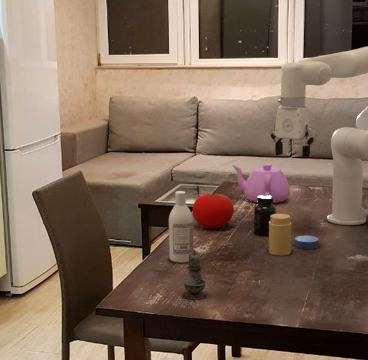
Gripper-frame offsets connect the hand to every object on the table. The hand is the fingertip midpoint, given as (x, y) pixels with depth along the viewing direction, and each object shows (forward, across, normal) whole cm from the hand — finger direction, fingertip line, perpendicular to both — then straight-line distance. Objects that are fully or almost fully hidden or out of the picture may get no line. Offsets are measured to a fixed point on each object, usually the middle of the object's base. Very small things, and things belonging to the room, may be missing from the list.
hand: (292, 156), depth 237 cm
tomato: (+24, -22, -12) cm, 35 cm away
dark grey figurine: (+24, +13, -66) cm, 72 cm away
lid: (+22, +13, -13) cm, 29 cm away
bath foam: (+24, -8, -46) cm, 53 cm away
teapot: (+24, -31, +29) cm, 49 cm away
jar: (+24, +10, -23) cm, 35 cm away
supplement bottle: (+24, -4, -9) cm, 26 cm away
